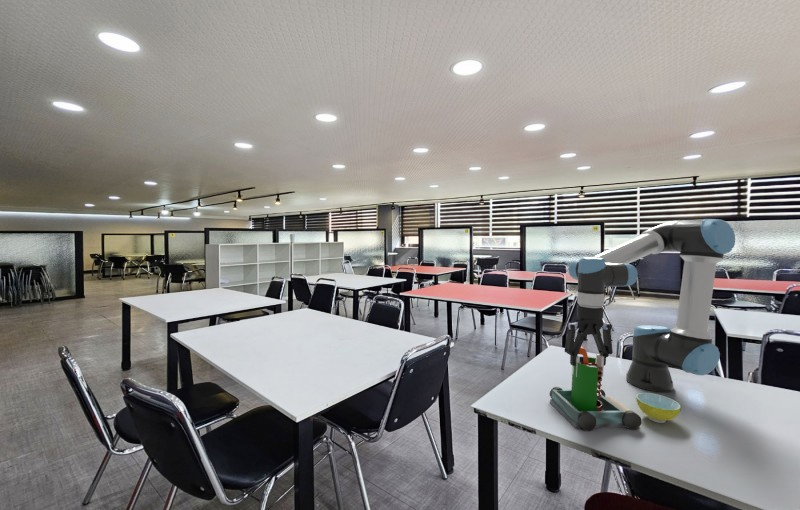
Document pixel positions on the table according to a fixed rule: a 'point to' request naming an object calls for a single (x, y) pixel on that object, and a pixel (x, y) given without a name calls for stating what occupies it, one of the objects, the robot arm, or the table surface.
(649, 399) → the bowl
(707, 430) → the table surface
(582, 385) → the motor
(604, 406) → the chassis
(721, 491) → the table surface
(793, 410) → the table surface
